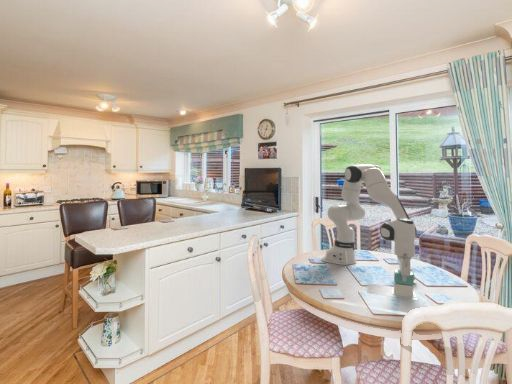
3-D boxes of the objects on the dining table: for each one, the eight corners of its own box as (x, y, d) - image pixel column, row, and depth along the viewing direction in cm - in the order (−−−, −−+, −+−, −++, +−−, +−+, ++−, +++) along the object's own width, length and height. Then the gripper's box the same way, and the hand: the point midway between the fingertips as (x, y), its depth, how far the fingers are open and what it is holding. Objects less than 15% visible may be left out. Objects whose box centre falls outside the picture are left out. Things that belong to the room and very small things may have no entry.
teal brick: (394, 282, 135) (395, 272, 134) (394, 279, 139) (394, 269, 139) (413, 285, 131) (413, 275, 131) (412, 281, 136) (412, 271, 136)
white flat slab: (367, 294, 136) (367, 292, 136) (367, 284, 148) (367, 282, 148) (417, 302, 128) (417, 300, 127) (414, 291, 139) (414, 289, 139)
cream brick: (394, 293, 135) (394, 283, 135) (393, 289, 140) (394, 280, 139) (413, 296, 132) (413, 286, 131) (411, 292, 136) (412, 282, 136)
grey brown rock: (402, 288, 145) (416, 274, 143) (389, 275, 152) (402, 262, 149) (408, 289, 151) (421, 276, 148) (395, 276, 157) (408, 264, 155)
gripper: (414, 258, 123) (413, 287, 124) (409, 246, 142) (408, 272, 143) (398, 256, 126) (398, 285, 127) (395, 245, 145) (395, 271, 146)
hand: (403, 278), depth 135 cm, fingers closed on teal brick, 5 cm apart
